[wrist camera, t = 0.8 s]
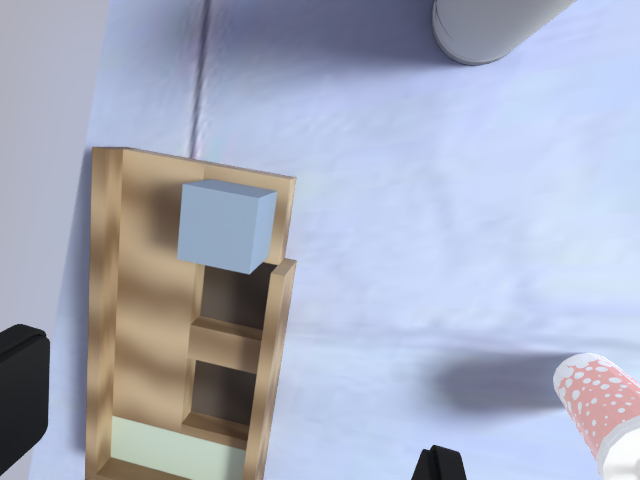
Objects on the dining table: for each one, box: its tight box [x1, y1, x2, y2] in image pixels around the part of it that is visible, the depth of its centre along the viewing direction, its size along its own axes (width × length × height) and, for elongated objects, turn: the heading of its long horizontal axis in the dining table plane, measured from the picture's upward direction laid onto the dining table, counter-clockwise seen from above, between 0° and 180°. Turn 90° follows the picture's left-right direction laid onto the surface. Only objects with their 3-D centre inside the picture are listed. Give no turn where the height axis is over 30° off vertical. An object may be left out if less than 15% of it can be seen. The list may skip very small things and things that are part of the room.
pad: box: [111, 415, 246, 480], centre depth 37 cm, size 4×13×2 cm, turn 81°
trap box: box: [85, 147, 297, 480], centre depth 33 cm, size 29×15×4 cm, turn 171°
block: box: [177, 179, 278, 274], centre depth 28 cm, size 5×5×4 cm
